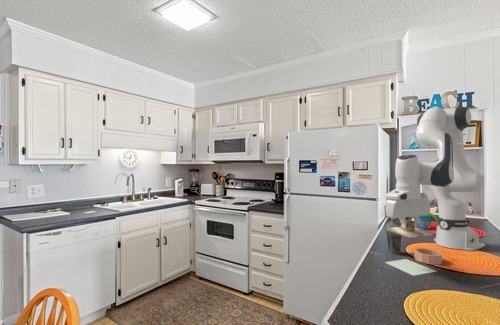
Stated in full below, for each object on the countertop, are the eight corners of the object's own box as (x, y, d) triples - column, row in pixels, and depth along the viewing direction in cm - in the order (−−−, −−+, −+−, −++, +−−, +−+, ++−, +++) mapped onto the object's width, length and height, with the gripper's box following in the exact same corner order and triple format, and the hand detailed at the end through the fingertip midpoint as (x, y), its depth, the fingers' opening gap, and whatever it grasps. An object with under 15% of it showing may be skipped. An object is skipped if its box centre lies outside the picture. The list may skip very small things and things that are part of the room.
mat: (406, 259, 115) (405, 259, 115) (436, 272, 101) (436, 271, 101) (384, 263, 111) (384, 262, 111) (413, 276, 98) (413, 275, 98)
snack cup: (440, 229, 166) (440, 213, 166) (433, 232, 159) (433, 215, 160) (413, 225, 178) (413, 210, 178) (406, 227, 172) (406, 212, 172)
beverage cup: (405, 256, 119) (405, 213, 119) (388, 255, 120) (387, 213, 120) (399, 251, 126) (399, 210, 126) (383, 250, 127) (383, 210, 127)
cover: (407, 227, 114) (407, 216, 114) (433, 234, 103) (433, 222, 103) (386, 230, 111) (385, 219, 111) (410, 237, 99) (410, 225, 99)
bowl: (425, 255, 119) (425, 247, 120) (447, 263, 110) (447, 254, 110) (409, 258, 117) (409, 249, 117) (430, 266, 107) (430, 257, 107)
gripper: (420, 191, 113) (420, 222, 113) (382, 194, 107) (383, 227, 107) (434, 193, 107) (435, 226, 107) (395, 196, 101) (396, 231, 101)
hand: (408, 227), depth 107 cm, fingers closed on cover, 3 cm apart
